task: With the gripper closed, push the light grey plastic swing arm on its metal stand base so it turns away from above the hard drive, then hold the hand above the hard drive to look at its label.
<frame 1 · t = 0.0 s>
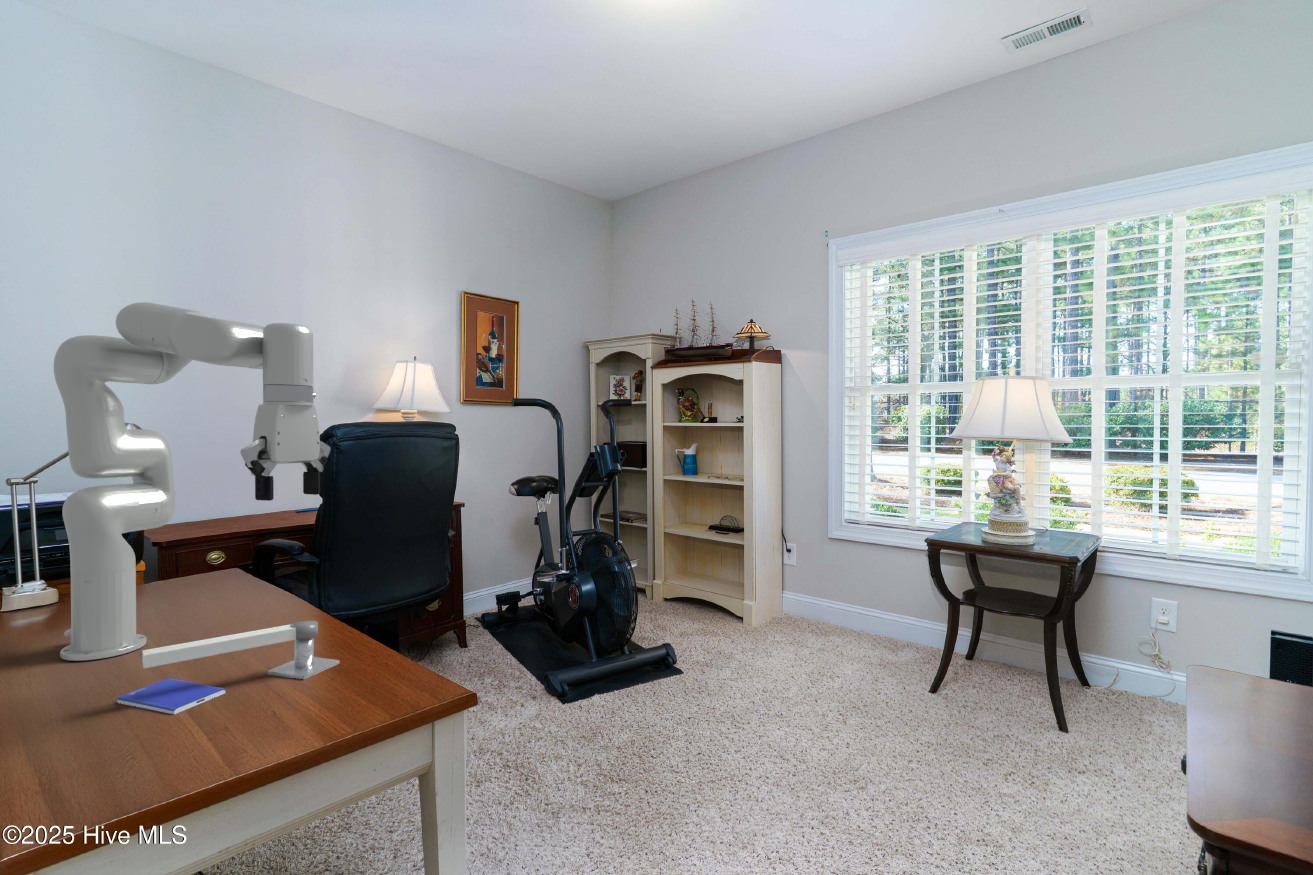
hand: (289, 496, 111), 31 cm above the table, tool pointing down, fingers open, 9 cm apart
swing arm: (236, 642, 108), point 7 cm above the table, hinge at 0.0°
metal stand base: (304, 668, 115), on the table
hard drive: (172, 702, 103), on the table
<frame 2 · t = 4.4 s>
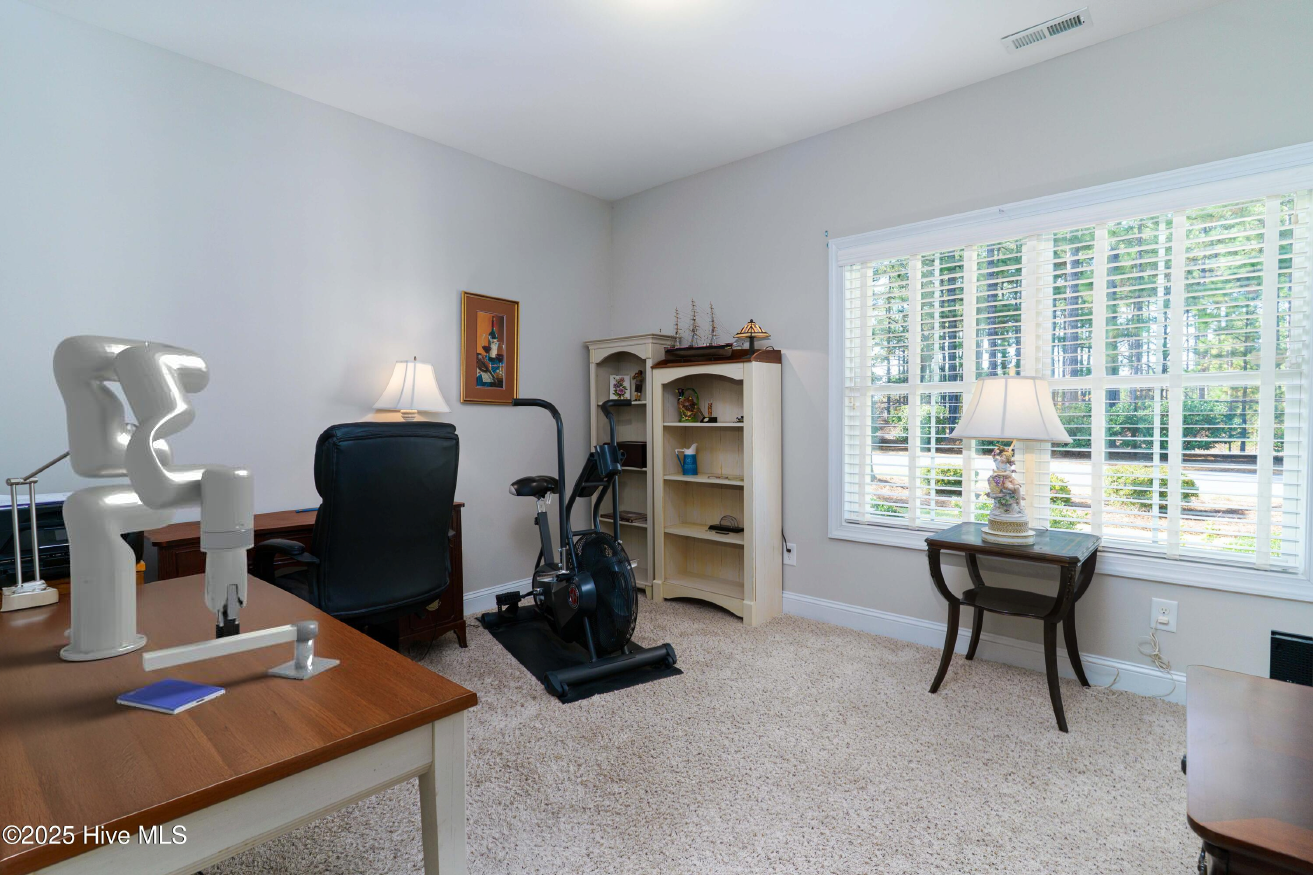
hand: (227, 646, 110), 6 cm above the table, tool pointing down, fingers closed
swing arm: (237, 643, 108), point 7 cm above the table, hinge at 4.2°, touching gripper
everything else where it was.
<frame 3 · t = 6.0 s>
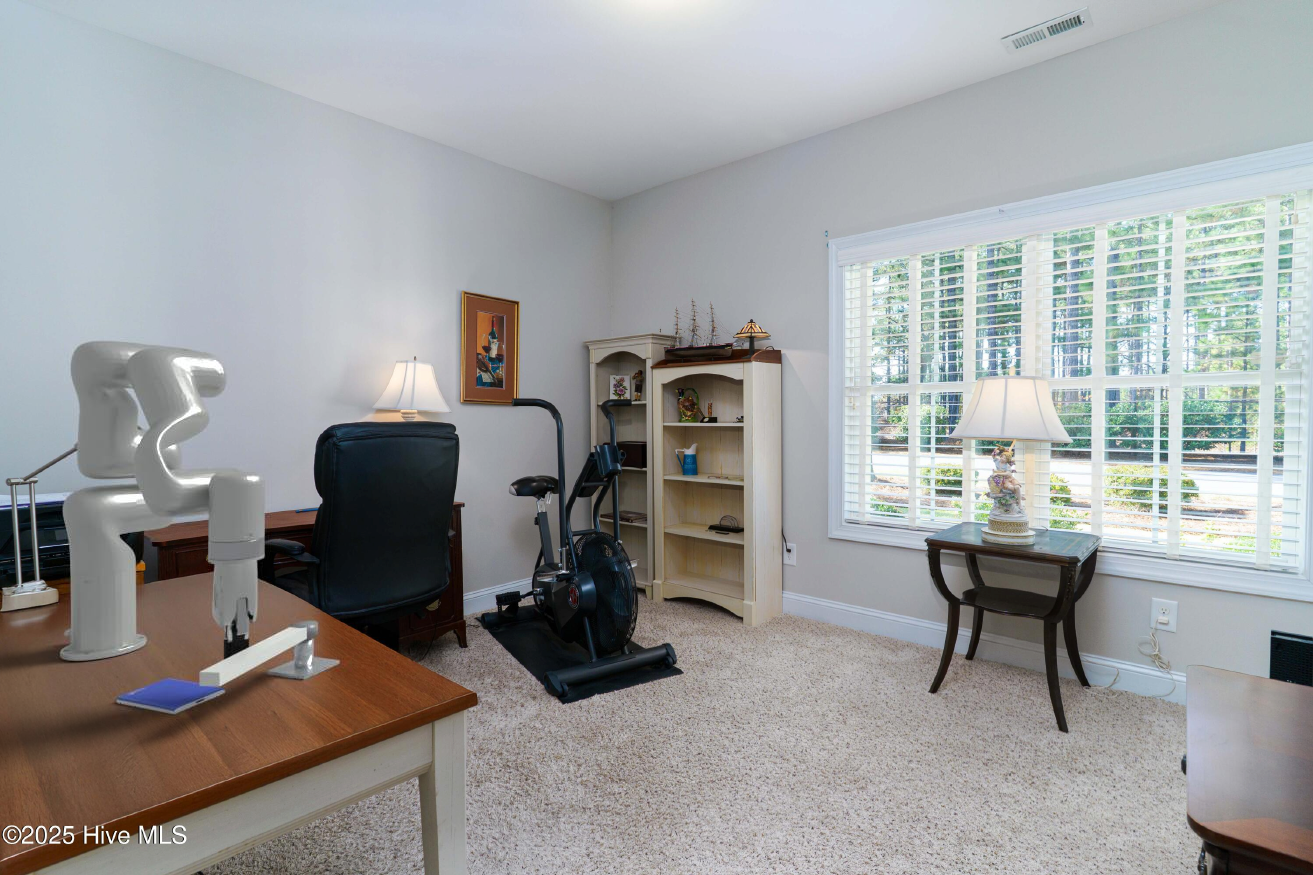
hand: (236, 663, 103), 5 cm above the table, tool pointing down, fingers closed
swing arm: (266, 649, 105), point 7 cm above the table, hinge at 45.6°, touching gripper
everything else where it was.
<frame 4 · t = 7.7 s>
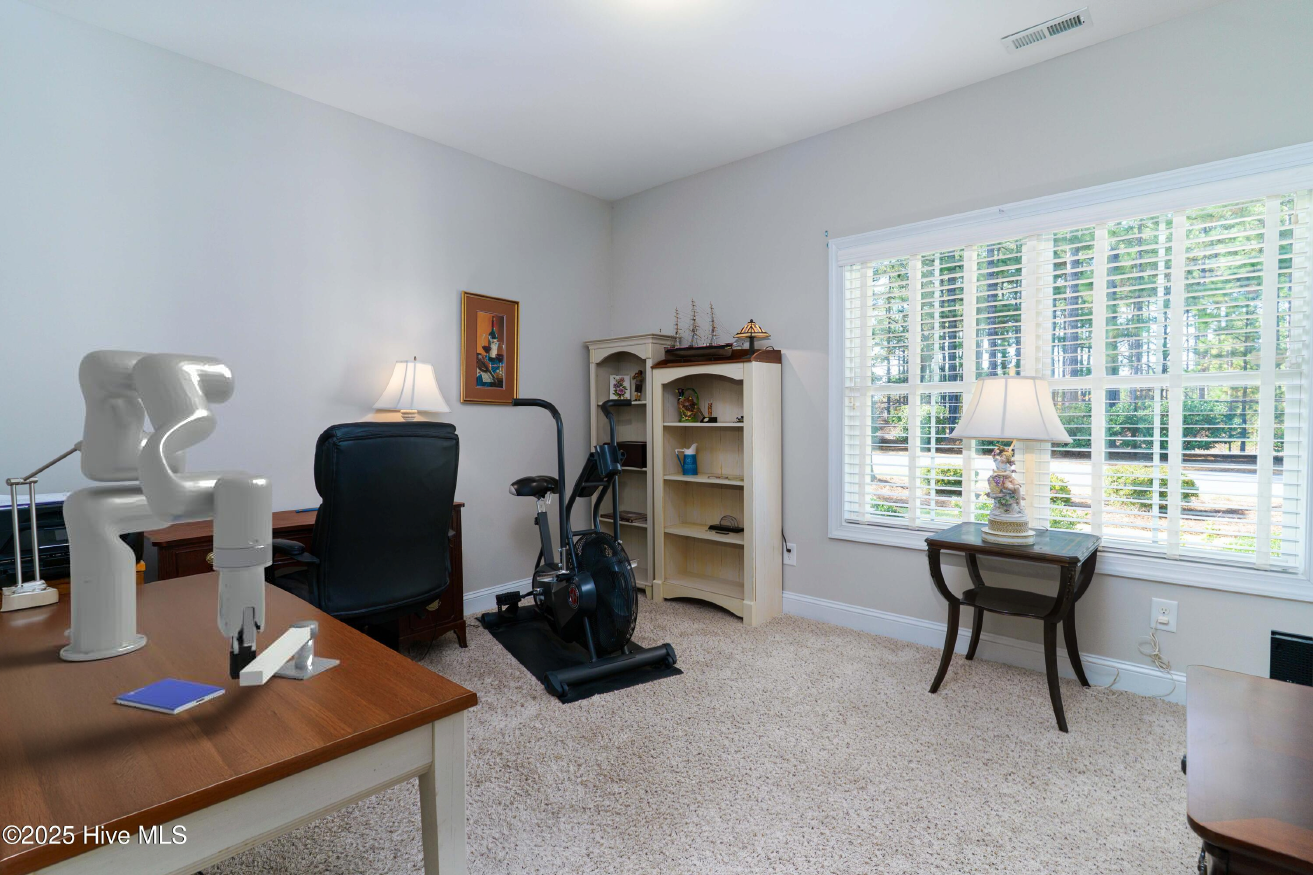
hand: (242, 675, 98), 5 cm above the table, tool pointing down, fingers closed
swing arm: (283, 649, 105), point 7 cm above the table, hinge at 60.3°, touching gripper
everything else where it was.
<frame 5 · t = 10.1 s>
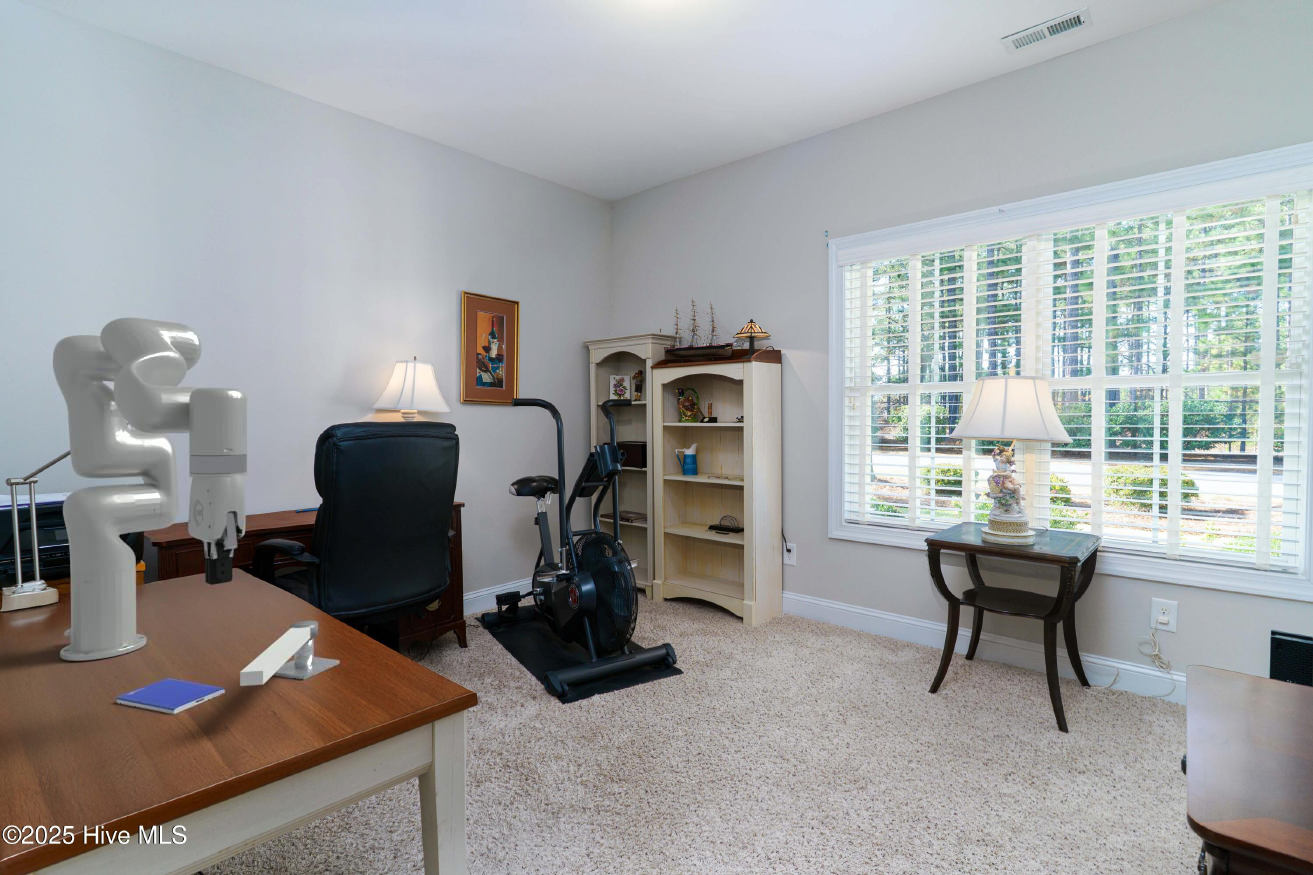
hand: (219, 582, 102), 19 cm above the table, tool pointing down, fingers closed
swing arm: (283, 649, 105), point 7 cm above the table, hinge at 60.4°
everything else where it was.
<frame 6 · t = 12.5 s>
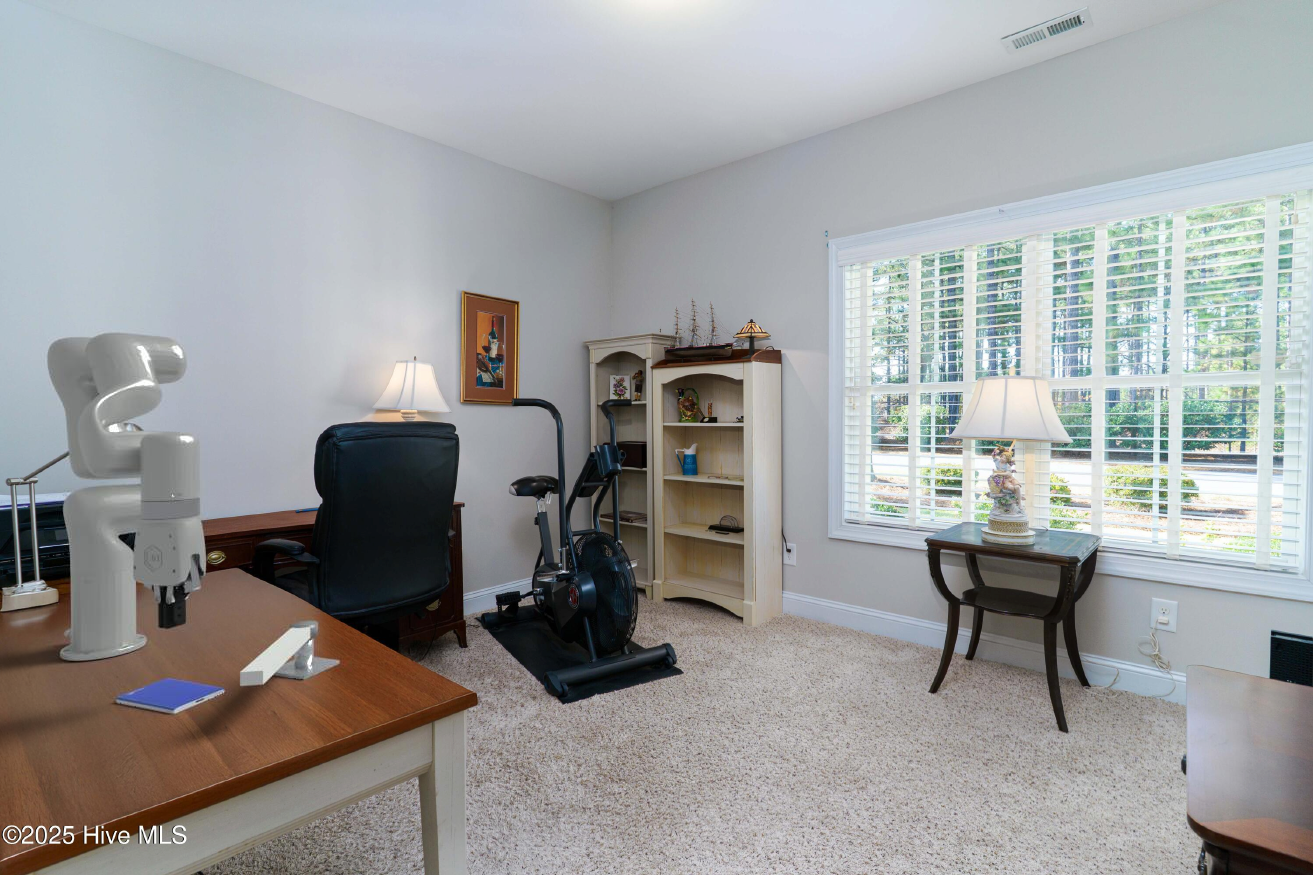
hand: (172, 625, 102), 12 cm above the table, tool pointing down, fingers closed
nothing on the table moved.
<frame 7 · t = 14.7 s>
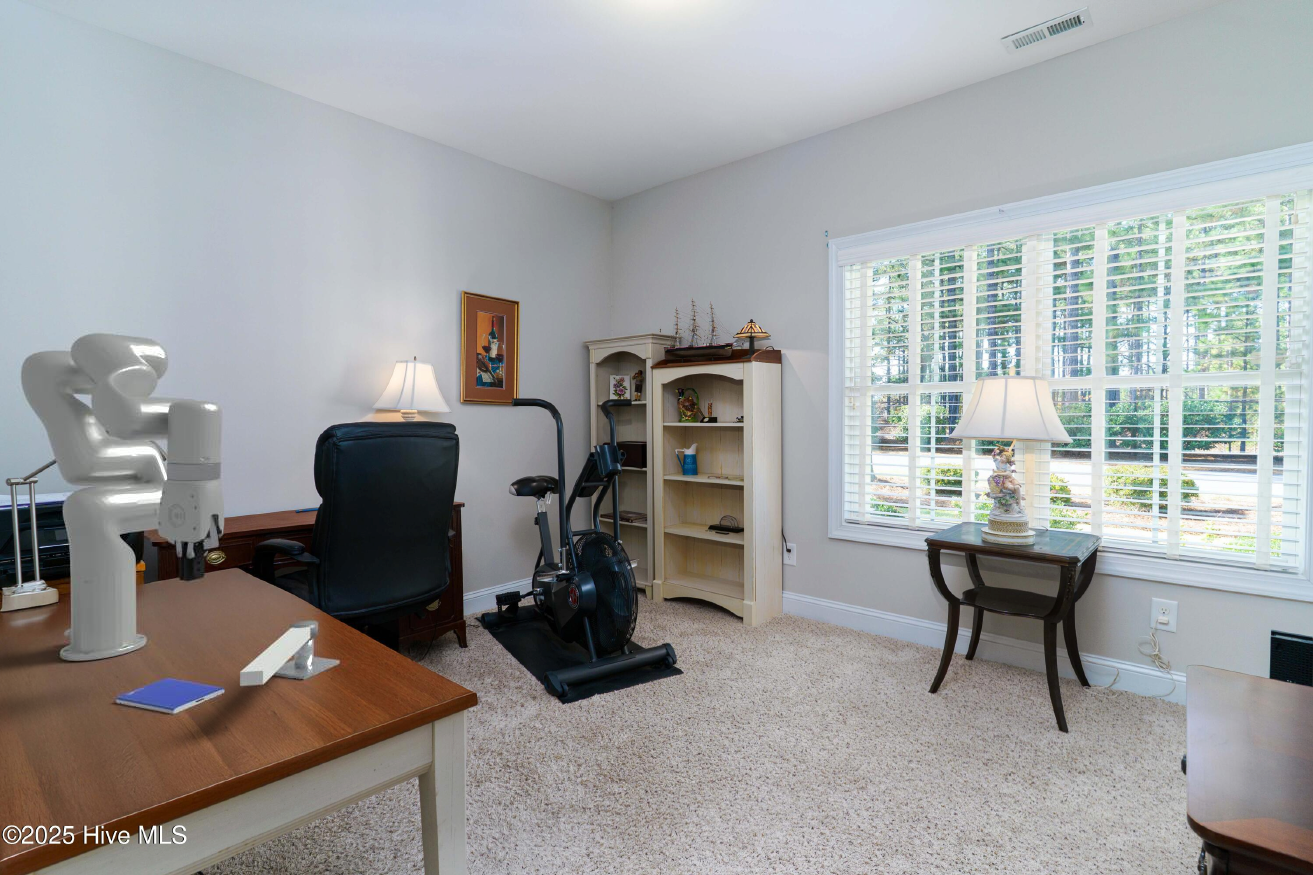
hand: (191, 578, 111), 17 cm above the table, tool pointing down, fingers closed
nothing on the table moved.
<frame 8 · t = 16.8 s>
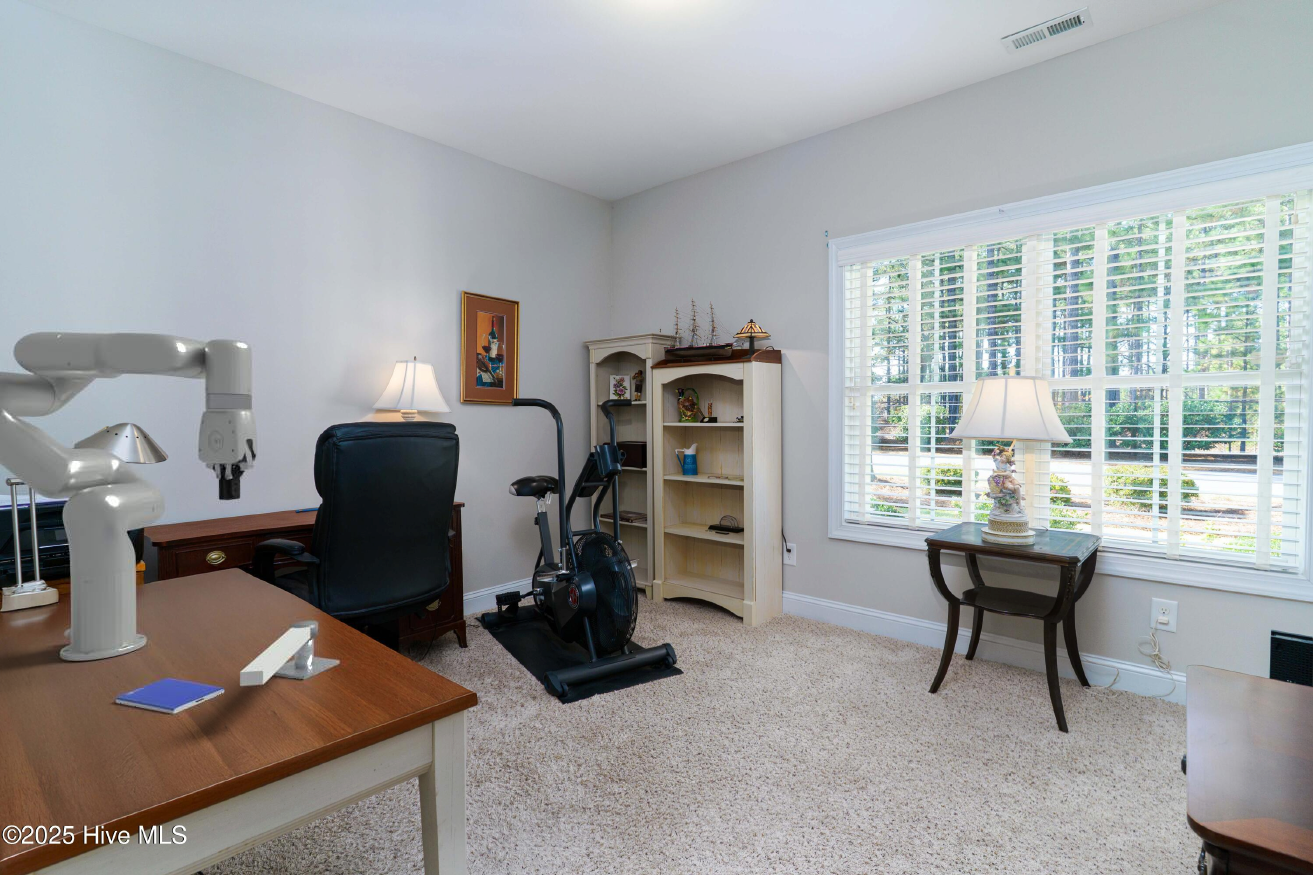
hand: (229, 499, 125), 29 cm above the table, tool pointing down, fingers closed
nothing on the table moved.
at the end: swing arm at +60° (first picture: +0°); hard drive moved 0.9 cm from its start; swing arm touching nothing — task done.
